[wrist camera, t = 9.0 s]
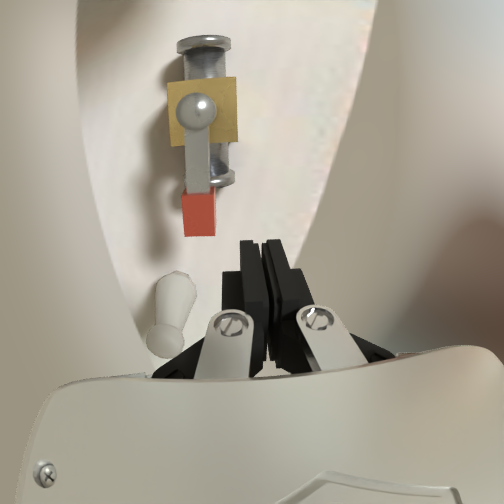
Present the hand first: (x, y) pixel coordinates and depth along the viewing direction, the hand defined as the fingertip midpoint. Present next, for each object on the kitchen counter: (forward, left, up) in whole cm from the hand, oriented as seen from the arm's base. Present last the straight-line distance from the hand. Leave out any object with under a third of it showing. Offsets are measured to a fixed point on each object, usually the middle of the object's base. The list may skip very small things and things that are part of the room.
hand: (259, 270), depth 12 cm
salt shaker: (+16, -10, -24) cm, 30 cm away
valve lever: (-2, -4, -14) cm, 15 cm away
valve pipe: (-7, -4, -23) cm, 25 cm away
